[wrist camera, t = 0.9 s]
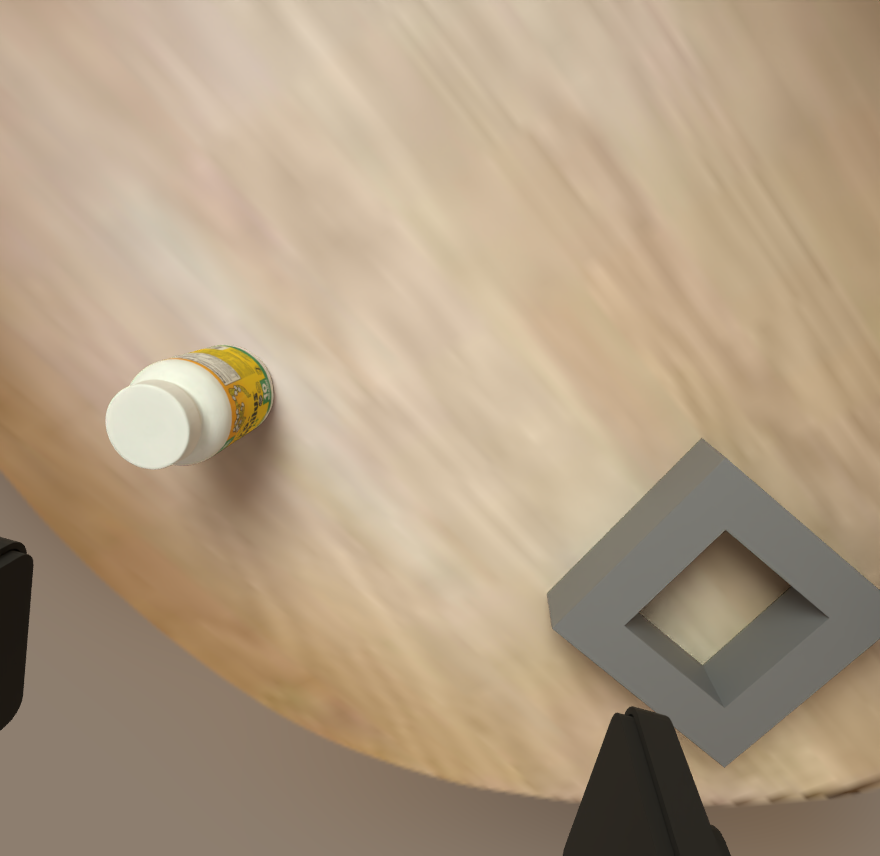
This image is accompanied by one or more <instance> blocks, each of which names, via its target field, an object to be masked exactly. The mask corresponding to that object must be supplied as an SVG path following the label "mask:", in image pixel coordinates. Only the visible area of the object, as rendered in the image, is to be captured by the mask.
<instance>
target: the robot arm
mask: <svg viewBox="0 0 880 856" xmlns="http://www.w3.org/2000/svg"><path fill="white" fill-rule="evenodd" d="M32 575H33V559H32V557H31V556H30V555H28V554H27V552H26V548H25V546H24V545H23V544H22V543H20V542H17V541H13V540H9V539H6V538H2V537H0V730H2V729H3V728H4V727H5V726H6V725H7V724H8V723H9V722H10V721H11V720H12V719H13V717H14V716H15V714H16V713H17V711H18V709H19V707H20V704H21V702H22V697H23V688H24V675H25V663H26V650H27V638H28V626H29V625H28V624H29V613H30V601H31V587H32ZM563 856H731V855H730V852H729V850H728V847H727V845H726V842H725V840H724V838H723V837H722V834H721V833H720V831H719V830H718V829H717V828H716V827H715V826H713V825H710V823H709V820H708V817H707V815H706V812H705V809H704V807H703V804H702V801H701V799H700V796H699V793H698V791H697V788H696V785H695V783H694V780H693V777H692V774H691V772H690V769H689V766H688V764H687V761H686V758H685V756H684V753H683V750H682V748H681V745H680V742H679V740H678V737H677V734H676V732H675V729H674V726H673V724H672V721H671V720H670V718H669V717H668V716H666V715H662V714H658V713H655V712H651V711H647V710H644V709H640V708H636V707H629V708H628V709H627V711H626V712H625V714H620V713H615V714H614V716H613V717H612V719H611V722H610V724H609V727H608V730H607V733H606V735H605V738H604V741H603V744H602V746H601V749H600V752H599V754H598V757H597V760H596V763H595V765H594V768H593V771H592V774H591V776H590V779H589V782H588V785H587V787H586V790H585V793H584V795H583V798H582V801H581V804H580V806H579V809H578V812H577V815H576V817H575V820H574V823H573V825H572V828H571V831H570V834H569V837H568V839H567V842H566V845H565V848H564V852H563Z"/></svg>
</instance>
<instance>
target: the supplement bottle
mask: <svg viewBox="0 0 880 856" xmlns="http://www.w3.org/2000/svg"><path fill="white" fill-rule="evenodd" d="M273 398H274V394H273V385H272V380H271V376H270V374H269V372H268V370H267V368H266V366H265V365H264V363H263V362H262V361H261V360H260V359H259V358H258V357H257V356H256V355H254V354H253V353H251V352H250V351H248V350H246V349H244V348H241V347H238V346H233V345H217V346H213V347H209V348H205V349H201V350H197V351H194V352H190V353H187V354H183V355H179V356H176V357H172V358H169V359H165V360H162V361H159V362H156V363H153V364H151V365H149V366H147V367H146V368H144V369H143V370H142V371H141V372H139V373H138V374H137V376H136V377H135V378H134V379H133V381H132V382H131V384H130V386H128V387H126V388H124V389H123V390H121V391H120V392H119V393H117V394H116V395H115V396H114V398H113V399H112V401H111V402H110V404H109V406H108V409H107V413H106V430H107V433H108V437H109V439H110V441H111V444H112V445H113V447H114V448H115V450H116V451H117V452H118V453H119V454H120V455H121V456H122V457H123V458H124V459H125V460H127V461H128V462H130V463H131V464H133V465H135V466H138V467H141V468H145V469H154V470H155V469H162V468H166V467H169V466H171V465H179V466H187V465H193V464H197V463H201V462H203V461H205V460H207V459H209V458H211V457H212V456H214V455H215V454H217V453H218V452H220V451H221V450H223V449H225V448H226V447H228V446H229V445H230V444H232V443H234V442H235V441H237V440H238V439H240V438H241V437H243V436H244V435H246V434H247V433H249V432H251V431H252V430H254V429H255V428H257V427H258V426H259V425H260V424H261V423H262V422H263V421H264V420H265V419H266V417H267V416H268V414H269V412H270V410H271V407H272V404H273Z"/></svg>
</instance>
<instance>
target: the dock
mask: <svg viewBox="0 0 880 856" xmlns="http://www.w3.org/2000/svg"><path fill="white" fill-rule="evenodd" d="M725 530H726V531H728V532H729V533H730V534H731V535H732V536H733V537H735V538H736V539H737V540H738V541H739V542H741V543H742V544H743V545H744V546H745V547H746V548H748V549H749V550H750V551H751V552H752V553H753V554H755V555H756V556H757V557H758V558H759V559H761V560H762V561H763V562H764V563H765V564H766V565H768V566H769V567H770V568H771V569H772V570H774V571H775V572H776V573H777V574H778V575H779V576H781V577H782V578H783V579H784V580H785V581H786V582H788V583H789V584H790V585H791V587H790V588H789V589H788V590H787V591H786V592H785V593H784V594H783V595H781V596H780V597H779V598H778V599H777V600H776V601H775V602H774V603H772V604H771V605H770V606H769V607H768V608H767V609H766V610H765V611H763V612H762V613H761V614H760V615H759V616H758V617H757V618H756V619H754V620H753V621H752V622H751V623H750V624H749V625H748V626H747V627H745V628H744V629H743V630H742V631H741V632H740V633H739V634H738V635H736V636H735V637H734V638H733V639H732V640H731V641H730V642H729V643H727V644H726V645H725V646H724V647H723V648H722V649H721V650H720V651H718V652H717V653H716V654H715V655H714V656H713V657H712V658H711V659H709V660H708V661H707V662H706V663H705V664H704V665H701V664H700V663H699V662H698V661H697V660H695V659H694V658H693V657H692V656H691V655H689V654H688V653H687V652H686V651H684V650H683V649H682V648H681V647H680V646H678V645H677V644H676V643H675V642H673V641H672V640H671V639H670V638H669V637H667V636H666V635H665V634H664V633H663V632H661V631H660V630H659V629H658V628H656V627H655V626H654V625H653V624H652V623H650V622H649V621H648V620H647V619H645V618H644V617H643V616H642V615H641V614H639V613H638V612H639V611H640V610H641V609H642V608H643V607H645V606H646V605H647V604H648V603H649V602H650V601H651V600H652V599H653V598H654V597H655V596H656V595H657V594H658V593H659V592H660V591H661V590H662V589H664V588H665V587H666V586H667V585H668V584H669V583H670V582H671V581H672V580H673V579H674V578H675V577H676V576H677V575H678V574H679V573H680V572H681V571H683V570H684V569H685V568H686V567H687V566H688V565H689V564H690V563H691V562H692V561H693V560H694V559H695V558H696V557H697V556H698V555H699V554H700V553H701V552H703V551H704V550H705V549H706V548H707V547H708V546H709V545H710V544H711V543H712V542H713V541H714V540H715V539H716V538H717V537H718V536H719V535H720V534H722V533H723V532H724V531H725ZM547 597H548V604H549V610H550V617H551V624H552V629H553V630H555V631H556V632H557V633H558V634H560V635H561V636H562V637H563V638H565V639H566V640H567V641H568V642H569V643H571V644H572V645H573V646H574V647H576V648H577V649H578V650H579V651H581V652H582V653H583V654H584V655H586V656H587V657H588V658H589V659H591V660H592V661H593V662H594V663H595V664H597V665H598V666H599V667H600V668H602V669H603V670H604V671H605V672H607V673H608V674H609V675H610V676H612V677H613V678H614V679H615V680H617V681H618V682H619V683H620V684H621V685H623V686H624V687H625V688H626V689H628V690H629V691H630V692H631V693H633V694H634V695H635V696H636V697H638V698H639V699H640V700H641V701H643V702H644V703H645V704H646V705H647V706H649V707H650V708H651V709H652V710H654V711H655V712H656V713H658V714H662V715H666V716H668V717H669V718H670V720H671V721H672V724H673V726H674V727H675V728H676V729H677V730H678V731H680V732H681V733H682V734H683V735H685V736H686V737H687V738H688V739H690V740H691V741H692V742H693V743H695V744H696V745H697V746H698V747H700V748H701V749H702V750H703V751H704V752H706V753H707V754H708V755H709V756H711V757H712V758H713V759H714V760H716V761H717V762H718V763H719V764H721V765H722V766H723V767H724V768H725V767H726V766H727V765H728V764H729V763H731V762H732V761H733V760H734V759H735V758H737V757H738V756H739V755H740V754H741V753H743V752H744V751H745V750H746V749H747V748H749V747H750V746H751V745H752V744H753V743H755V742H756V741H757V740H758V739H759V738H761V737H762V736H763V735H764V734H766V733H767V732H768V731H769V730H770V729H772V728H773V727H774V726H775V725H776V724H778V723H779V722H780V721H781V720H782V719H784V718H785V717H786V716H787V715H788V714H790V713H791V712H792V711H793V710H794V709H796V708H797V707H798V706H799V705H800V704H802V703H803V702H804V701H805V700H806V699H808V698H809V697H810V696H811V695H813V694H814V693H815V692H816V691H817V690H819V689H820V688H821V687H822V686H823V685H825V684H826V683H827V682H828V681H829V680H831V679H832V678H833V677H834V676H835V675H837V674H838V673H839V672H840V671H841V670H843V669H844V668H845V667H846V666H847V665H849V664H850V663H851V662H852V661H853V660H855V659H856V658H857V657H858V656H860V655H861V654H862V653H863V652H864V651H866V650H867V649H868V648H869V647H870V646H872V645H873V644H874V643H875V642H876V641H878V640H879V639H880V590H879V589H878V588H876V587H875V586H874V585H873V584H872V583H871V582H869V581H868V580H867V579H866V578H865V577H864V576H862V575H861V574H860V573H859V572H858V571H857V570H855V569H854V568H853V567H852V566H851V565H850V564H849V563H847V562H846V561H845V560H844V559H843V558H842V557H840V556H839V555H838V554H837V553H836V552H835V551H833V550H832V549H831V548H830V547H829V546H828V545H826V544H825V543H824V542H823V541H822V540H821V539H820V538H818V537H817V536H816V535H815V534H814V533H813V532H811V531H810V530H809V529H808V528H807V527H806V526H804V525H803V524H802V523H801V522H800V521H799V520H797V519H796V518H795V517H794V516H793V515H792V514H790V513H789V512H788V511H787V510H786V509H785V508H784V507H782V506H781V505H780V504H779V503H778V502H777V501H775V500H774V499H773V498H772V497H771V496H770V495H768V494H767V493H766V492H765V491H764V490H763V489H761V488H760V487H759V486H758V485H757V484H756V483H755V482H753V481H752V480H751V479H750V478H749V477H748V476H746V475H745V474H744V473H743V472H742V471H741V470H739V469H738V468H737V467H736V466H735V465H734V464H732V463H731V462H730V461H729V460H728V459H727V458H725V457H724V456H723V455H722V454H721V453H719V452H718V451H717V450H716V449H714V448H713V447H712V446H711V445H710V444H708V443H707V442H706V441H705V440H703V439H702V438H701V439H700V440H699V441H698V442H697V443H696V444H695V445H694V446H693V447H692V448H691V449H690V450H689V451H688V452H687V453H686V454H685V455H684V456H683V457H682V458H681V459H680V460H679V461H678V462H677V463H676V465H675V466H674V467H673V468H672V469H671V470H670V471H669V472H668V473H667V474H666V475H665V476H664V477H663V478H662V479H661V480H660V481H659V482H658V483H657V484H656V485H655V486H654V487H653V488H652V489H651V490H650V491H649V492H648V493H647V494H646V495H645V496H644V497H643V498H642V499H641V500H640V501H639V502H638V503H637V504H636V505H635V506H634V507H633V508H632V509H631V510H630V511H629V512H628V513H627V514H626V515H625V516H624V517H623V518H622V519H621V520H620V521H619V522H618V523H617V524H616V525H615V526H614V527H613V528H612V529H611V530H610V531H609V532H608V533H607V534H606V535H605V536H604V537H603V538H602V539H601V540H600V541H599V542H598V543H597V544H596V545H595V546H594V547H593V548H592V549H591V550H590V551H589V552H588V553H587V554H586V555H585V556H584V557H583V558H582V559H581V560H580V561H579V562H578V563H577V564H576V565H575V566H574V567H573V568H572V569H571V570H570V571H569V572H568V573H567V574H566V575H565V576H564V577H563V578H562V579H561V580H560V581H559V582H558V583H557V584H556V585H555V586H554V587H553V588H552V589H551V590H550V591H549V592H548V593H547Z"/></svg>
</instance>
